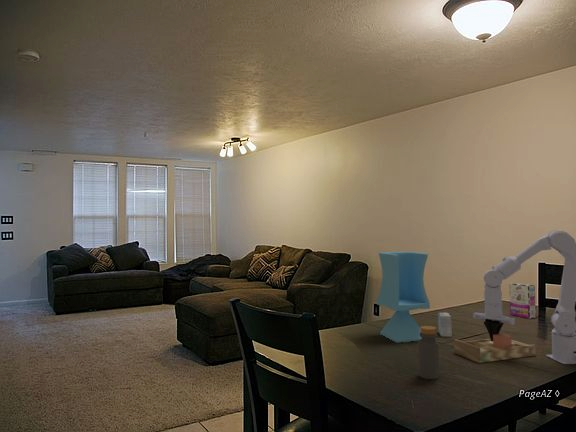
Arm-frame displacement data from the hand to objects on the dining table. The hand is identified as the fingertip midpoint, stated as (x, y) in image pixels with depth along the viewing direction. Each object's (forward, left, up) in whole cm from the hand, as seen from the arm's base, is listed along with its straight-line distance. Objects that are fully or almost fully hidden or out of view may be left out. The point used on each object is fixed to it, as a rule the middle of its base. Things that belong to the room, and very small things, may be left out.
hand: (494, 341), depth 161 cm
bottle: (-22, +32, -4) cm, 39 cm away
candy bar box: (+59, -47, -4) cm, 76 cm away
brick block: (-4, -1, -1) cm, 4 cm away
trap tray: (-1, 0, -4) cm, 4 cm away
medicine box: (+28, +6, -5) cm, 29 cm away
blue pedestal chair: (+25, +25, -4) cm, 36 cm away
